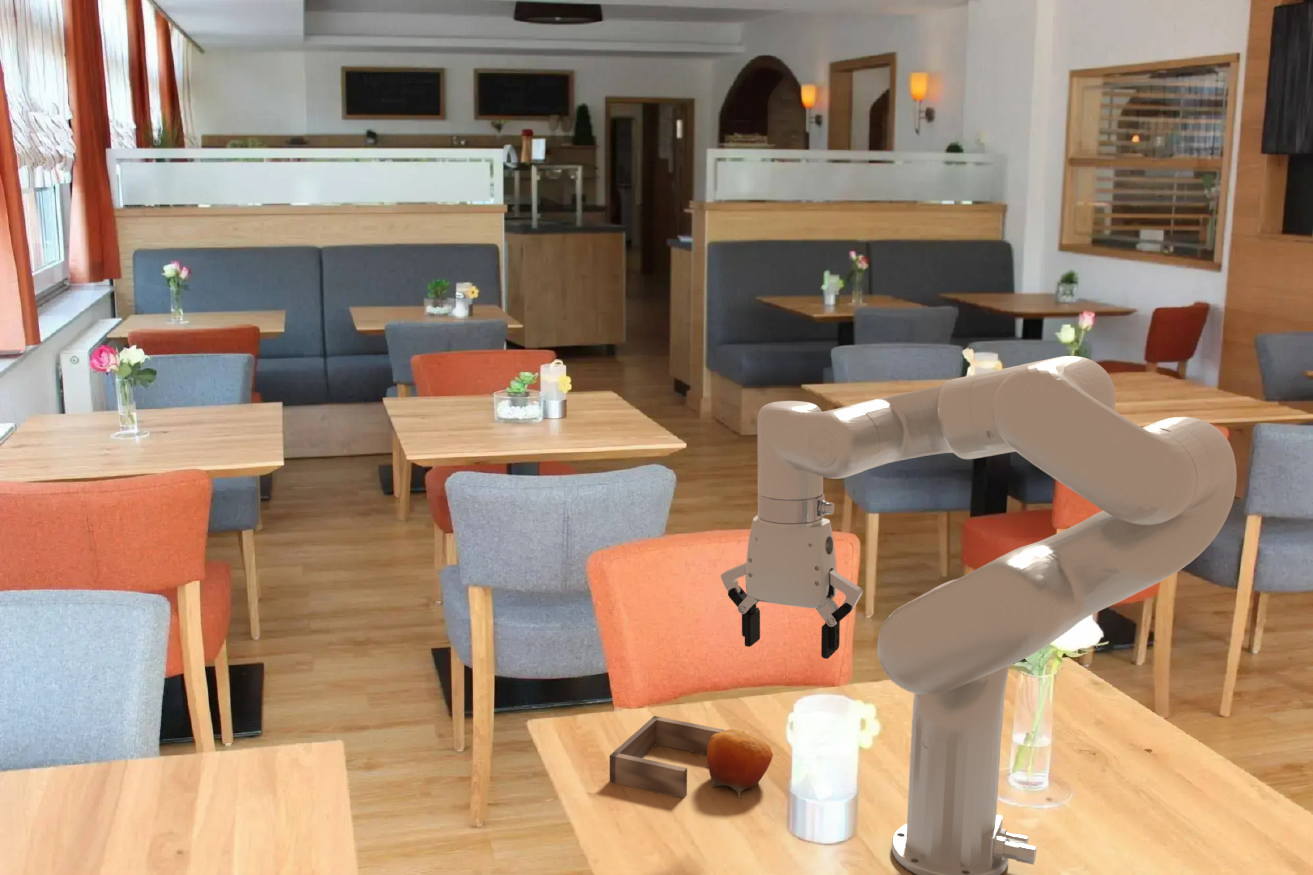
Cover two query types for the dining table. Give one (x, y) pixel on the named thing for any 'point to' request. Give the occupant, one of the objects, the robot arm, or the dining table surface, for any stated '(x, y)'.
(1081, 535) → the robot arm
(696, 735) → the u-shaped wall frame
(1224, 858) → the dining table surface
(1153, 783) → the dining table surface
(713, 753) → the fruit
